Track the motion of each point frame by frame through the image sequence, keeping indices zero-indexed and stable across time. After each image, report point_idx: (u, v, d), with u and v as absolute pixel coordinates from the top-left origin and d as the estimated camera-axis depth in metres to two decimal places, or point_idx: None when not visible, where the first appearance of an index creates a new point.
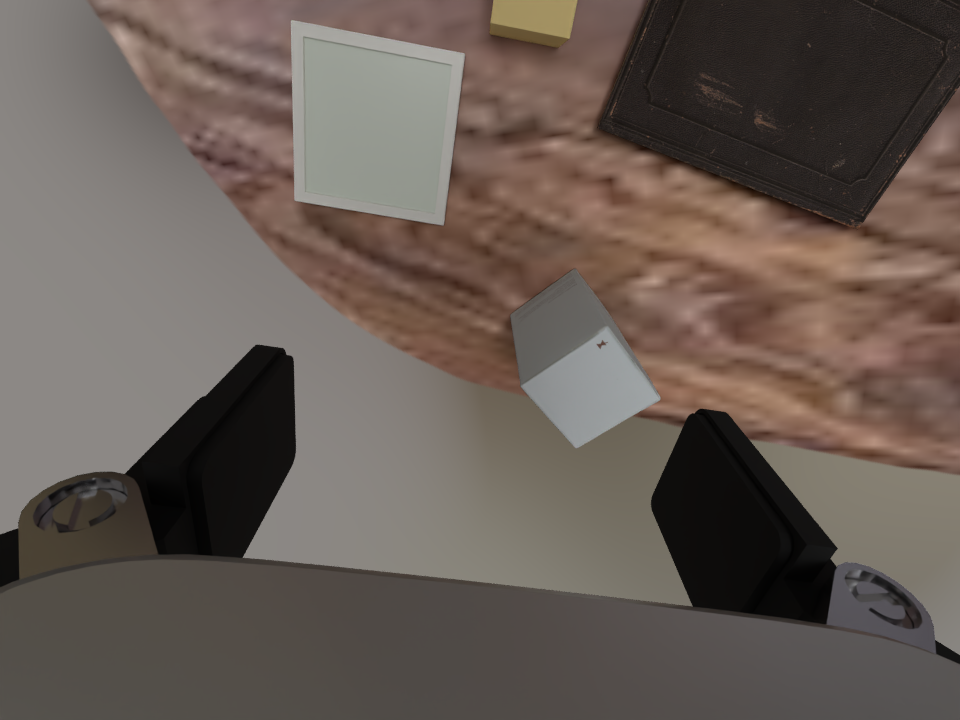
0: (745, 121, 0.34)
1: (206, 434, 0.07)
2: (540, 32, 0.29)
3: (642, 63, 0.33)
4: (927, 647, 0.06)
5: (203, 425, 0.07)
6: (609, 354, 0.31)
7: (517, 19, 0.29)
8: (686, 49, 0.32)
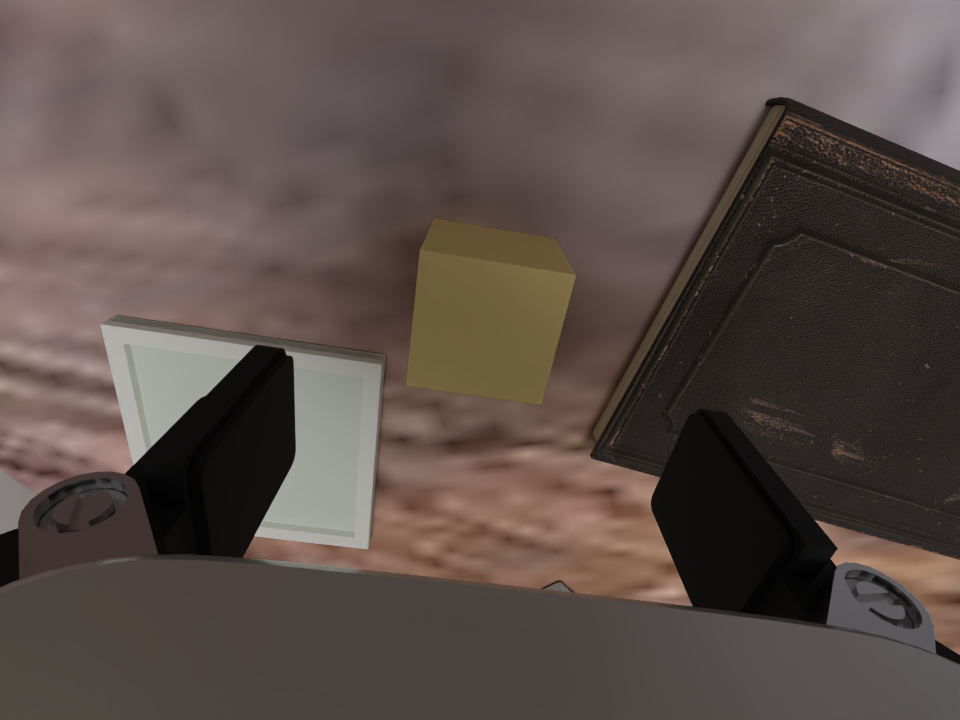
0: (818, 452, 0.22)
1: (206, 434, 0.07)
2: (492, 395, 0.17)
3: (660, 387, 0.21)
4: (927, 647, 0.06)
5: (203, 425, 0.07)
6: None
7: (452, 381, 0.17)
8: (730, 371, 0.20)
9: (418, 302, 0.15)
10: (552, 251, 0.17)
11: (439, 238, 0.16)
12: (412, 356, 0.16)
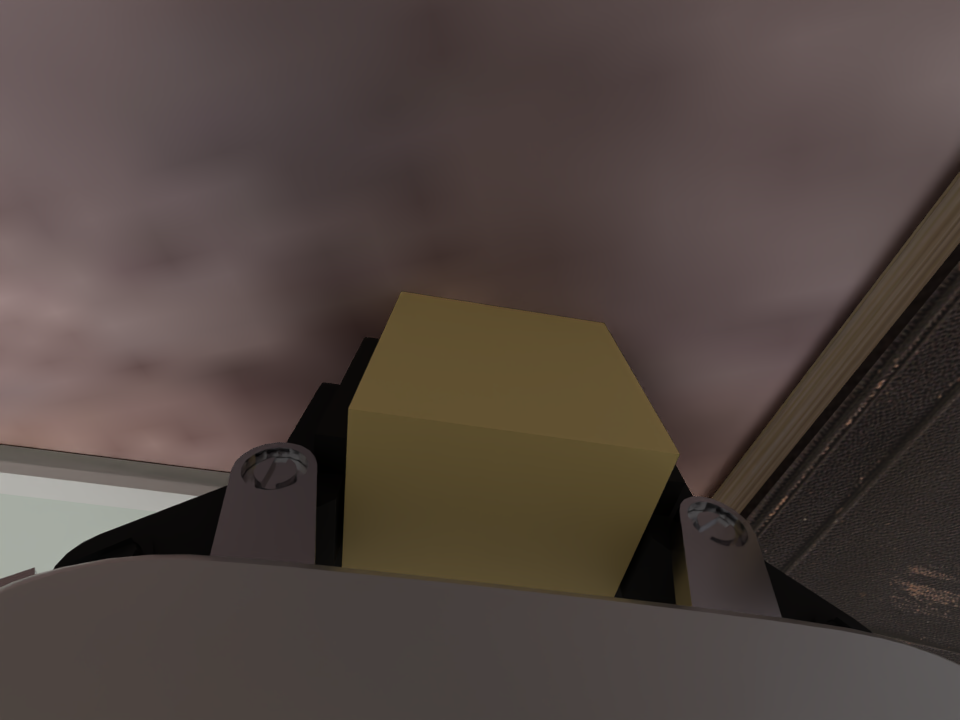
0: None
1: None
2: None
3: (767, 551, 0.13)
4: (757, 558, 0.07)
5: None
6: None
7: None
8: (885, 531, 0.12)
9: (352, 498, 0.08)
10: (611, 367, 0.09)
11: (399, 356, 0.08)
12: None
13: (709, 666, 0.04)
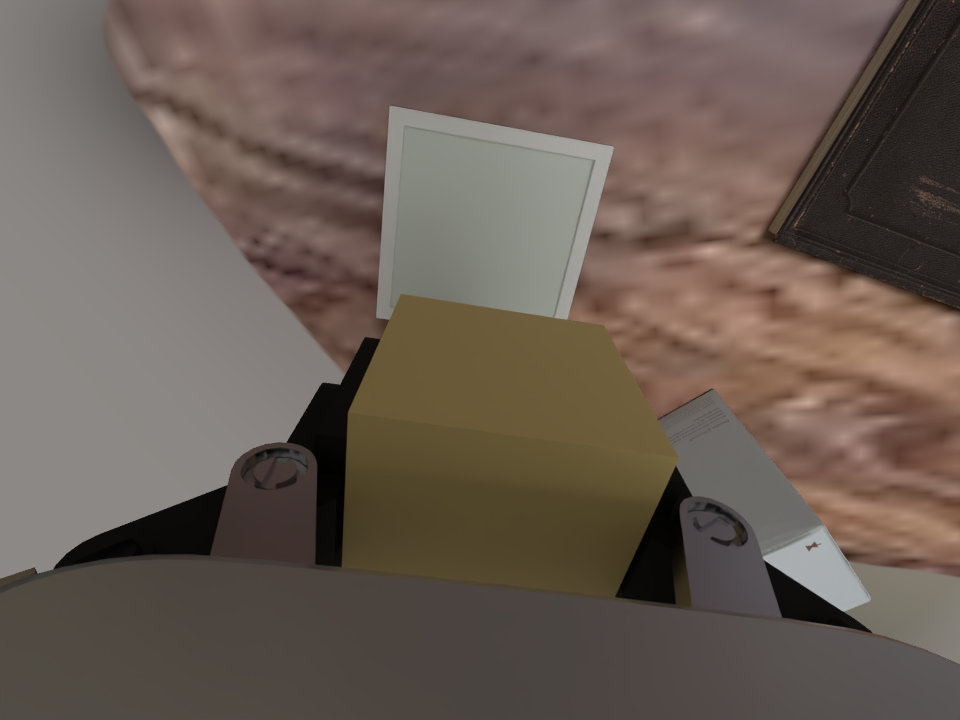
0: None
1: None
2: None
3: (846, 165, 0.25)
4: (757, 558, 0.07)
5: None
6: (819, 556, 0.23)
7: None
8: (907, 148, 0.24)
9: (352, 502, 0.08)
10: (610, 370, 0.09)
11: (399, 359, 0.08)
12: None
13: (709, 666, 0.04)
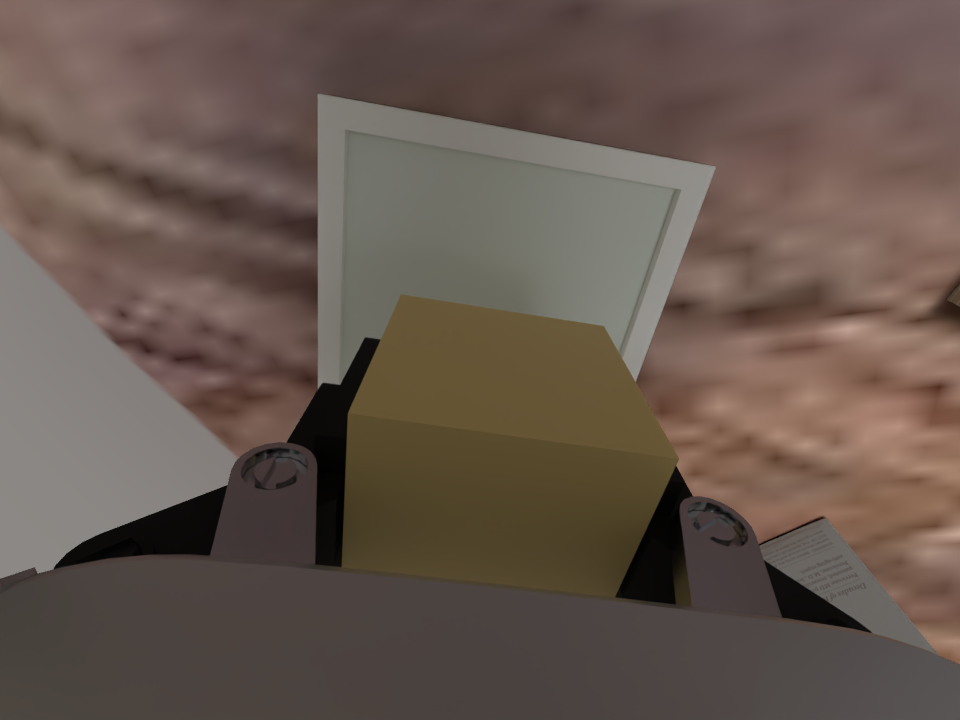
0: None
1: None
2: None
3: None
4: (757, 557, 0.07)
5: (350, 405, 0.08)
6: None
7: None
8: None
9: (352, 503, 0.08)
10: (610, 371, 0.09)
11: (399, 360, 0.08)
12: None
13: (709, 666, 0.04)
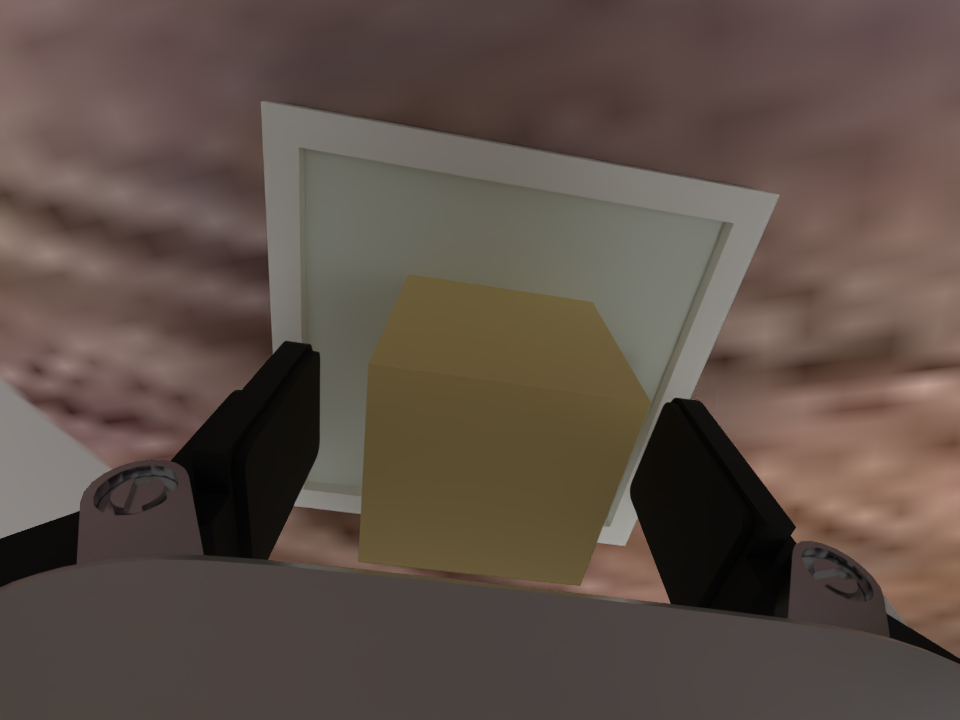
0: None
1: (246, 425, 0.07)
2: None
3: None
4: (879, 618, 0.07)
5: (243, 416, 0.08)
6: None
7: (434, 555, 0.10)
8: None
9: (371, 445, 0.09)
10: (596, 337, 0.11)
11: (409, 325, 0.10)
12: (366, 522, 0.10)
13: (709, 666, 0.04)
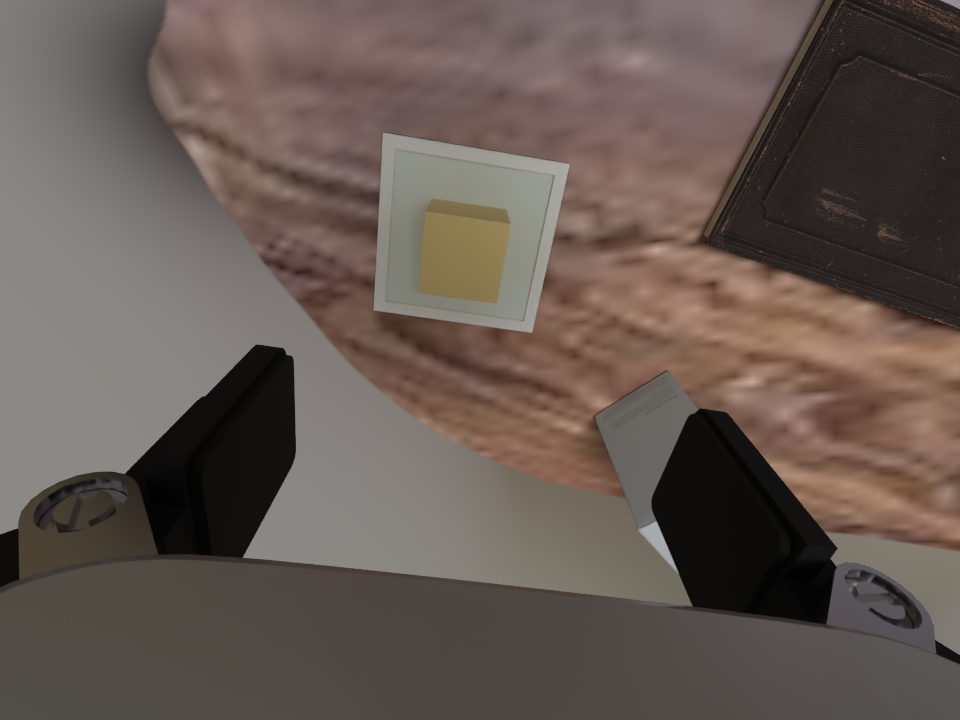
0: (868, 234, 0.32)
1: (206, 435, 0.07)
2: (468, 298, 0.30)
3: (760, 180, 0.30)
4: (927, 647, 0.06)
5: (203, 425, 0.07)
6: None
7: (444, 289, 0.29)
8: (809, 166, 0.30)
9: (425, 241, 0.28)
10: (501, 214, 0.30)
11: (436, 207, 0.29)
12: (422, 274, 0.29)
13: (709, 666, 0.04)
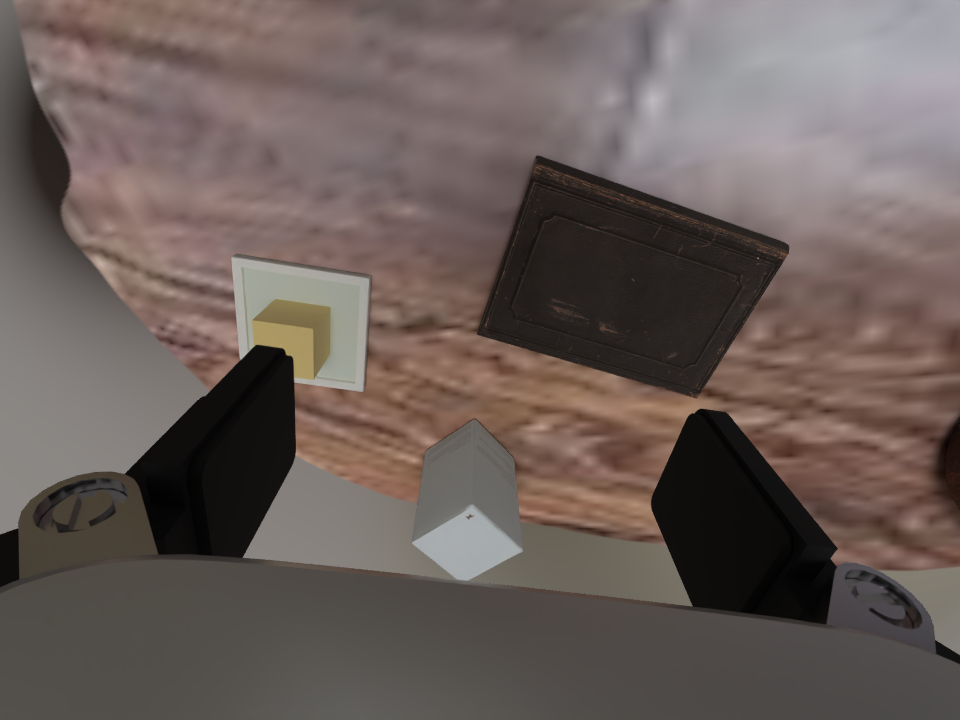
0: (592, 329, 0.43)
1: (206, 434, 0.07)
2: None
3: (505, 293, 0.42)
4: (927, 647, 0.06)
5: (203, 425, 0.07)
6: (476, 523, 0.40)
7: None
8: (538, 284, 0.41)
9: (254, 339, 0.40)
10: (317, 316, 0.41)
11: (266, 312, 0.40)
12: None
13: (709, 666, 0.04)
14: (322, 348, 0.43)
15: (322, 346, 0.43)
